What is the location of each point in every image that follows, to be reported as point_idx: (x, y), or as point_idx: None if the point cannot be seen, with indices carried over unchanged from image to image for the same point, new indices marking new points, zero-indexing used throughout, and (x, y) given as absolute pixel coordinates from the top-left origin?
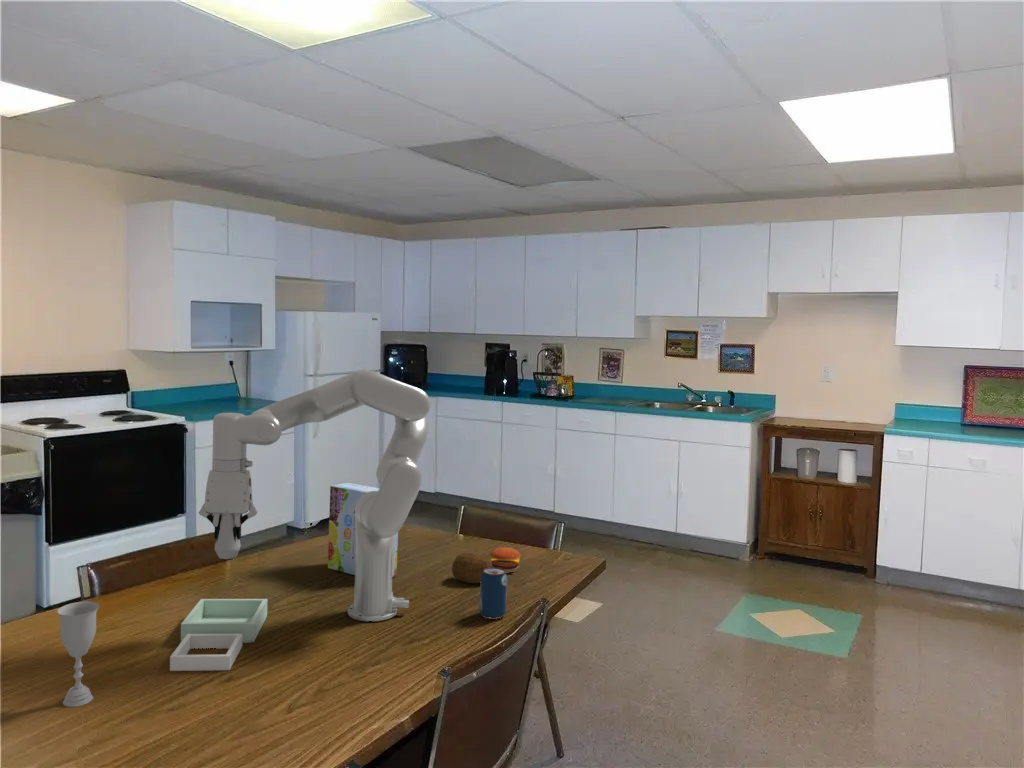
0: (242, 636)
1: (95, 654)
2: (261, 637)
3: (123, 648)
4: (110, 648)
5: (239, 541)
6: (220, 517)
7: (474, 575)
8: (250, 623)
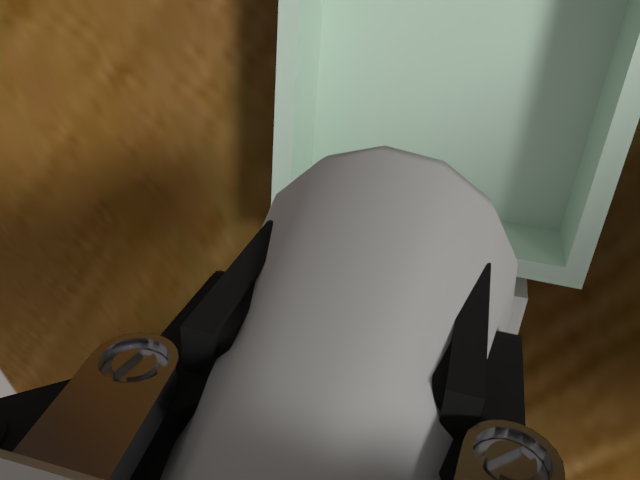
0: (526, 295)
1: (74, 226)
2: (612, 200)
3: (130, 199)
4: (93, 191)
5: (503, 321)
6: (133, 456)
7: None
8: (565, 283)
